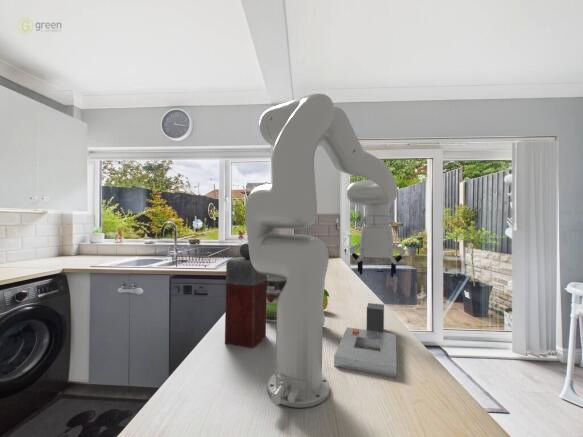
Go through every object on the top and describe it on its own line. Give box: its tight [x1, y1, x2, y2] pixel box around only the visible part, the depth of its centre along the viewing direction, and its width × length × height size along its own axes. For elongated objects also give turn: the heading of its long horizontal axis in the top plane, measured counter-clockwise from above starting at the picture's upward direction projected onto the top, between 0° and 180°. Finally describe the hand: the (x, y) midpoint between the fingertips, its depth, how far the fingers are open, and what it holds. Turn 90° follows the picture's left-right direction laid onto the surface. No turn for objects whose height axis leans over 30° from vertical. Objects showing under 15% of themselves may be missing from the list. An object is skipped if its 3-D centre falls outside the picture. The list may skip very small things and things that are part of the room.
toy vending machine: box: [224, 242, 267, 349], centre depth 84 cm, size 9×11×28 cm
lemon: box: [323, 288, 330, 310], centre depth 110 cm, size 7×6×10 cm
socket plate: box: [333, 327, 397, 378], centre depth 75 cm, size 20×14×3 cm
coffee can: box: [266, 276, 286, 323], centre depth 102 cm, size 10×10×14 cm
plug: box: [366, 302, 385, 332], centre depth 92 cm, size 9×5×8 cm, turn 160°
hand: (376, 275), depth 91 cm, fingers open, 9 cm apart
